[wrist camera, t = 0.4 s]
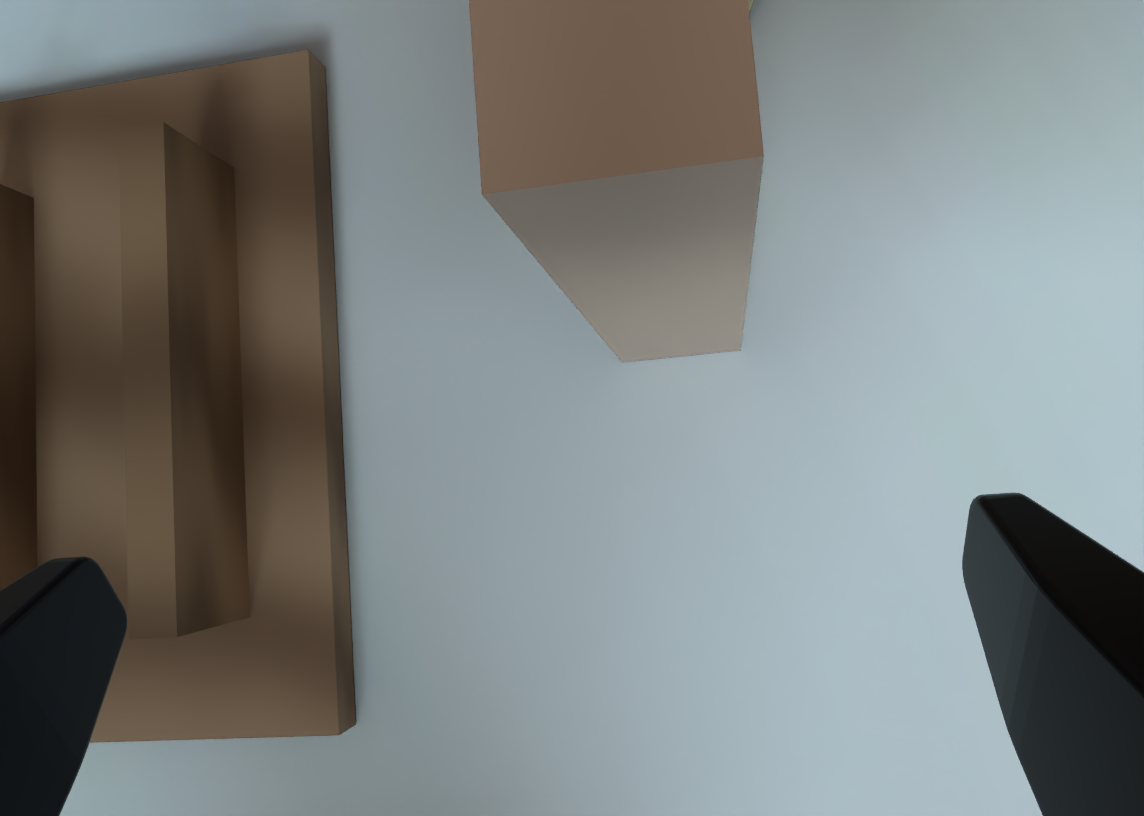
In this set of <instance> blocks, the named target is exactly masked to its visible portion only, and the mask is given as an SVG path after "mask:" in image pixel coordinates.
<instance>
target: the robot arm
mask: <svg viewBox="0 0 1144 816" xmlns="http://www.w3.org/2000/svg"><path fill="white" fill-rule="evenodd" d="M962 569H963V577H964V583H965V587H966V590H967V594H968V597H969V600H970V604H971V607H972V611H973V614H974V618H975V621H976V625H977V628H978V632H979V635H980V638H981V642H982V645H983V649H984V652H985V656H986V659H987V663H988V666H989V669H990V673H991V676H992V680H993V683H994V687H995V690H996V694H997V697H998V701H999V704H1000V707H1001V711H1002V714H1003V717H1004V720H1005V723H1006V726H1007V730H1008V732H1009V735H1010V738H1011V740H1012V743H1013V745H1014V748H1015V750H1016V753H1017V756H1018V758H1019V760H1020V763H1021V765H1022V767H1023V770H1024V772H1025V774H1026V777H1027V779H1028V782H1029V784H1030V786H1031V789H1032V791H1033V793H1034V796H1035V798H1036V801H1037V803H1038V805H1039V808H1040V810H1041V812H1042V815H1043V816H1144V572H1142V571H1141V570H1139V569H1138V568H1136V567H1135V566H1133V565H1132V564H1130V563H1129V562H1127V561H1126V560H1124V559H1122V558H1121V557H1119V556H1118V555H1116V554H1115V553H1113V552H1112V551H1110V550H1109V549H1107V548H1106V547H1104V546H1102V545H1101V544H1099V543H1098V542H1096V541H1095V540H1093V539H1092V538H1090V537H1089V536H1087V535H1086V534H1084V533H1082V532H1081V531H1079V530H1078V529H1076V528H1075V527H1073V526H1072V525H1070V524H1069V523H1067V522H1066V521H1064V520H1062V519H1061V518H1059V517H1058V516H1056V515H1055V514H1053V513H1052V512H1050V511H1049V510H1047V509H1046V508H1044V507H1042V506H1041V505H1039V504H1038V503H1036V502H1035V501H1033V500H1032V499H1030V498H1029V497H1027V496H1025V495H1023V494H1020V493H1001V494H986V495H979V496H977V497H976V498H975V499H973V501H972V503H971V505H970V509H969V516H968V523H967V530H966V537H965V545H964V552H963V560H962ZM126 631H127V614H126V610H125V608H124V606H123V604H122V602H121V601H120V599H119V597H118V596H117V594H116V592H115V591H114V589H113V587H112V585H111V584H110V582H109V580H108V579H107V577H106V575H105V574H104V572H103V570H102V568H101V567H100V565H99V564H98V563H97V562H96V561H94V560H93V559H92V558H89V557H83V556H82V557H67V558H56V559H52V560H49V561H47V562H45V563H43V564H42V565H40V566H38V567H37V568H35V569H34V570H32V571H30V572H29V573H27V574H26V575H24V576H22V577H21V578H19V579H18V580H16V581H14V582H13V583H11V584H10V585H8V586H6V587H5V588H3V589H2V590H0V816H59V815H60V813H61V811H62V808H63V806H64V804H65V802H66V799H67V797H68V795H69V793H70V790H71V788H72V786H73V783H74V781H75V779H76V776H77V774H78V771H79V769H80V767H81V764H82V762H83V759H84V756H85V753H86V750H87V748H88V745H89V742H90V739H91V736H92V733H93V730H94V727H95V724H96V721H97V718H98V715H99V712H100V709H101V706H102V703H103V700H104V697H105V694H106V691H107V688H108V685H109V682H110V679H111V676H112V673H113V670H114V667H115V664H116V661H117V658H118V655H119V653H120V650H121V647H122V644H123V641H124V638H125V635H126Z"/></svg>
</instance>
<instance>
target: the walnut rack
mask: <svg viewBox="0 0 1144 816" xmlns="http://www.w3.org/2000/svg"><path fill="white" fill-rule="evenodd" d="M82 556H83V557H89V558H92V559H93V560H94V561H96V562H97V563H98V564H99V565H100V567H101V568H102V570H103V572H104V574H105V575H106V577H107V579H108V580H109V582H110V584H111V585H112V587H113V589H114V591H115V592H116V594H117V596H118V597H119V599H120V601H121V602H122V604H123V606H124V608H125V610H126V614H127V631H126V635H125V638H124V641H123V644H122V647H121V650H120V653H119V655H118V658H117V661H116V664H115V667H114V670H113V673H112V676H111V679H110V682H109V685H108V688H107V691H106V694H105V697H104V700H103V703H102V706H101V709H100V712H99V715H98V718H97V721H96V724H95V727H94V730H93V733H92V736H91V739H90V742H124V741H158V740H192V739H227V738H261V737H295V736H329V735H340V734H342V733H343V732H345V731H346V730H348V729H349V728H351V727H353V726H354V725H356V716H355V695H354V674H353V652H352V631H351V609H350V588H349V567H348V545H347V524H346V502H345V481H344V460H343V438H342V417H341V395H340V374H339V353H338V331H337V310H336V288H335V267H334V246H333V224H332V203H331V182H330V160H329V139H328V117H327V96H326V75H325V66H324V65H323V64H322V63H321V62H320V61H319V60H318V59H317V58H316V57H315V56H314V55H313V54H312V53H311V52H310V51H309V50H303V51H297V52H291V53H285V54H279V55H274V56H268V57H262V58H256V59H250V60H245V61H239V62H233V63H227V64H221V65H216V66H210V67H204V68H198V69H192V70H187V71H181V72H175V73H169V74H164V75H158V76H152V77H146V78H140V79H135V80H129V81H123V82H117V83H111V84H106V85H100V86H94V87H88V88H82V89H77V90H71V91H65V92H59V93H53V94H48V95H42V96H36V97H30V98H24V99H19V100H13V101H7V102H1V103H0V590H2V589H3V588H5V587H6V586H8V585H10V584H11V583H13V582H14V581H16V580H18V579H19V578H21V577H22V576H24V575H26V574H27V573H29V572H30V571H32V570H34V569H35V568H37V567H38V566H40V565H42V564H43V563H45V562H47V561H49V560H52V559H56V558H67V557H82ZM90 742H89V743H90Z"/></svg>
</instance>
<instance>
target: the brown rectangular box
mask: <svg viewBox="0 0 1144 816" xmlns="http://www.w3.org/2000/svg"><path fill="white" fill-rule="evenodd" d="M469 5H470V21H471V36H472V51H473V66H474V81H475V96H476V112H477V127H478V142H479V157H480V172H481V187H482V195H483V196H484V198H485V199H486V200H487V201H488V202H489V204H490V205H491V206H492V207H493V208H494V210H495V211H496V212H497V213H498V214H499V216H500V217H501V218H502V219H503V220H504V222H505V223H506V224H507V225H508V226H509V228H510V229H511V230H512V231H513V232H514V234H515V235H516V236H517V237H518V238H519V240H520V241H521V242H522V243H523V244H524V246H525V247H526V248H527V249H528V250H529V252H530V253H531V254H532V255H533V256H534V258H535V259H536V260H537V261H538V262H539V264H540V265H541V266H542V267H543V268H544V270H545V271H546V272H547V273H548V274H549V276H550V277H551V278H552V279H553V280H554V282H555V283H556V284H557V285H558V286H559V288H560V289H561V290H562V291H563V292H564V294H565V295H566V296H567V297H568V298H569V300H570V301H571V302H572V303H573V304H574V306H575V307H576V308H577V309H578V310H579V312H580V313H581V314H582V315H583V316H584V318H585V319H586V320H587V321H588V322H589V324H590V325H591V326H592V327H593V328H594V330H595V331H596V332H597V333H598V334H599V336H600V337H601V338H602V339H603V340H604V342H605V343H606V344H607V345H608V346H609V348H610V349H611V350H612V351H613V352H614V354H615V355H616V356H617V357H618V358H619V360H620V361H621V362H630V361H640V360H650V359H660V358H670V357H680V356H690V355H700V354H710V353H720V352H730V351H740V350H741V342H742V334H743V326H744V317H745V309H746V300H747V292H748V284H749V275H750V267H751V259H752V250H753V242H754V233H755V225H756V217H757V208H758V200H759V191H760V183H761V175H762V166H763V158H764V154H763V144H762V134H761V124H760V114H759V105H758V95H757V85H756V75H755V65H754V55H753V45H752V35H751V25H750V15H749V6H748V0H469Z"/></svg>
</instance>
